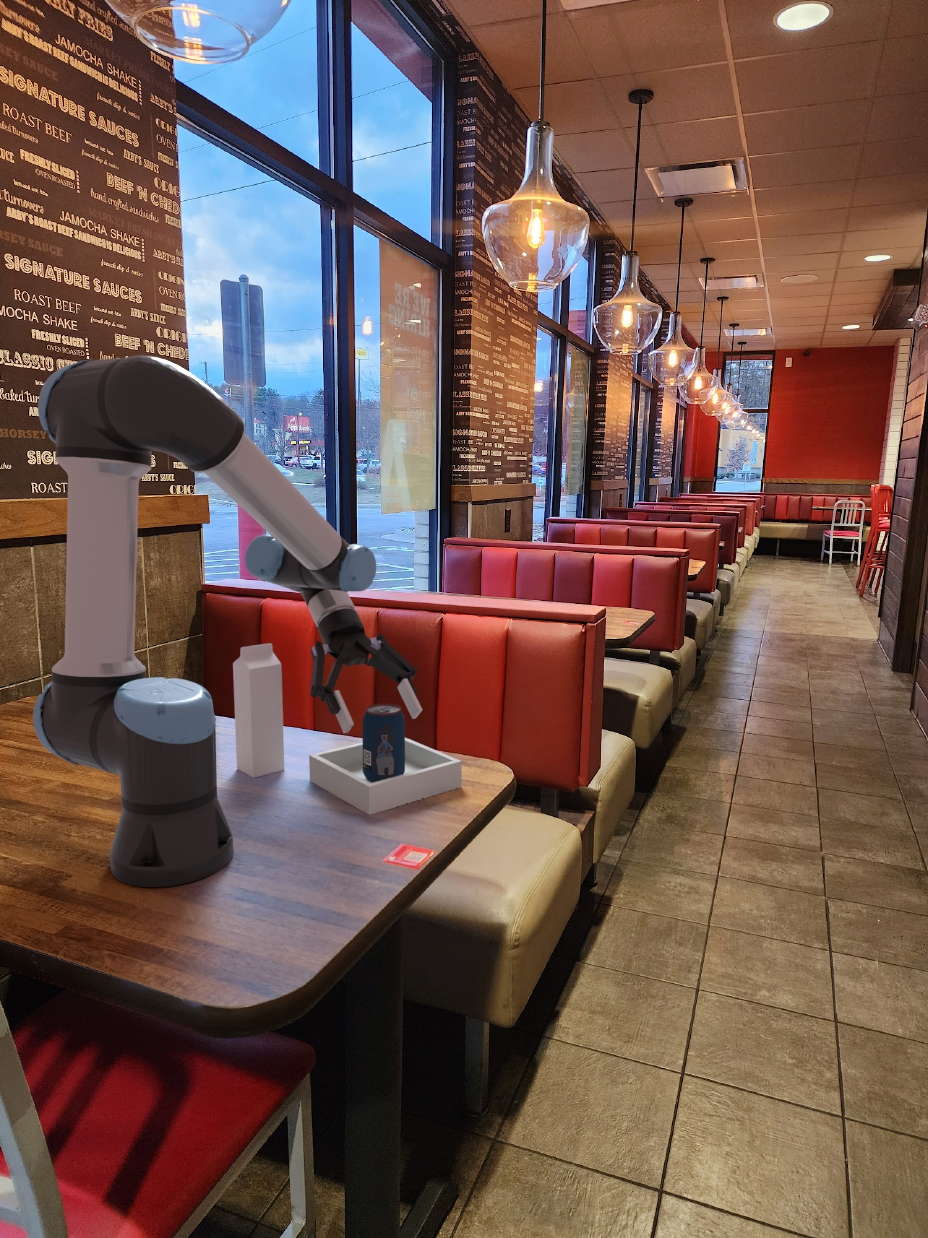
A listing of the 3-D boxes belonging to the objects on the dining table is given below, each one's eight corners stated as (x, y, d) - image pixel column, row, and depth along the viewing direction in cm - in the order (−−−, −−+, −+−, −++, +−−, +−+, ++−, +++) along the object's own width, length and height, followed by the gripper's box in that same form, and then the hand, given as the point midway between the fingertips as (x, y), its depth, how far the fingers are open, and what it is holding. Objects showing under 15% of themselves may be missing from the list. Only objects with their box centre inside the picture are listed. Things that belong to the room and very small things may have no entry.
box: (369, 815, 119) (369, 786, 118) (309, 780, 132) (309, 755, 132) (461, 787, 130) (461, 761, 130) (397, 758, 144) (397, 734, 143)
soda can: (388, 768, 136) (387, 700, 134) (413, 779, 131) (413, 709, 129) (354, 777, 131) (353, 707, 129) (379, 789, 126) (378, 717, 124)
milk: (284, 770, 137) (282, 645, 134) (252, 778, 133) (249, 650, 130) (267, 761, 142) (264, 640, 138) (235, 768, 138) (231, 644, 134)
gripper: (386, 625, 150) (434, 720, 141) (264, 639, 135) (309, 747, 126) (403, 600, 145) (453, 697, 136) (278, 612, 130) (325, 723, 121)
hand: (384, 721), depth 131 cm, fingers open, 13 cm apart
